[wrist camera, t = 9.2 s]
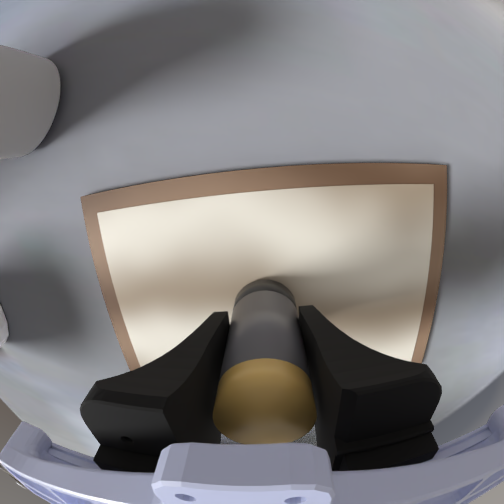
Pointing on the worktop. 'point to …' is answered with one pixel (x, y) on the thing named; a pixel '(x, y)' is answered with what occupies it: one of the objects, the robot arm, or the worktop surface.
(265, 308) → the grey yellow rounded cylinder
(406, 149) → the worktop surface
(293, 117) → the worktop surface
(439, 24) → the worktop surface
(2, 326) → the white cup
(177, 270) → the writing board
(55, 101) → the beverage can
